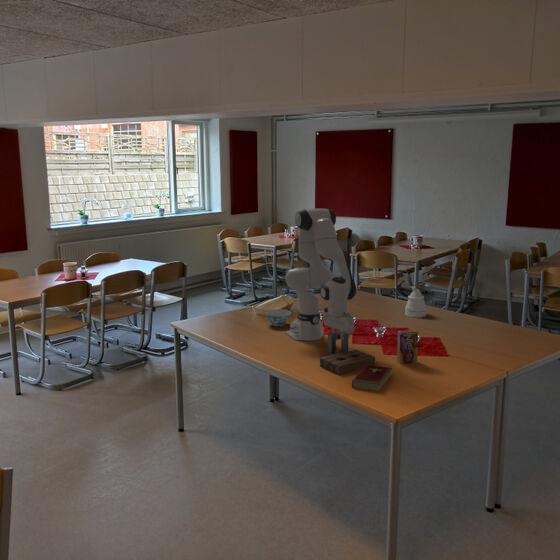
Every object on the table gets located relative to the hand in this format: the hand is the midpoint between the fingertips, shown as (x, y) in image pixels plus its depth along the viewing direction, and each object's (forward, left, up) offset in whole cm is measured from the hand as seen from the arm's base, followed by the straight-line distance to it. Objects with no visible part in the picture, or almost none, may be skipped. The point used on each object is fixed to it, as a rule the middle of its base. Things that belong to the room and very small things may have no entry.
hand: (338, 337), depth 278 cm
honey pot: (-33, +89, -9) cm, 95 cm away
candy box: (+27, +20, -9) cm, 35 cm away
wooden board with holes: (+14, -6, -9) cm, 18 cm away
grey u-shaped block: (0, 0, -8) cm, 8 cm away
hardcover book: (+36, -10, -10) cm, 38 cm away
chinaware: (-64, +6, -9) cm, 65 cm away
